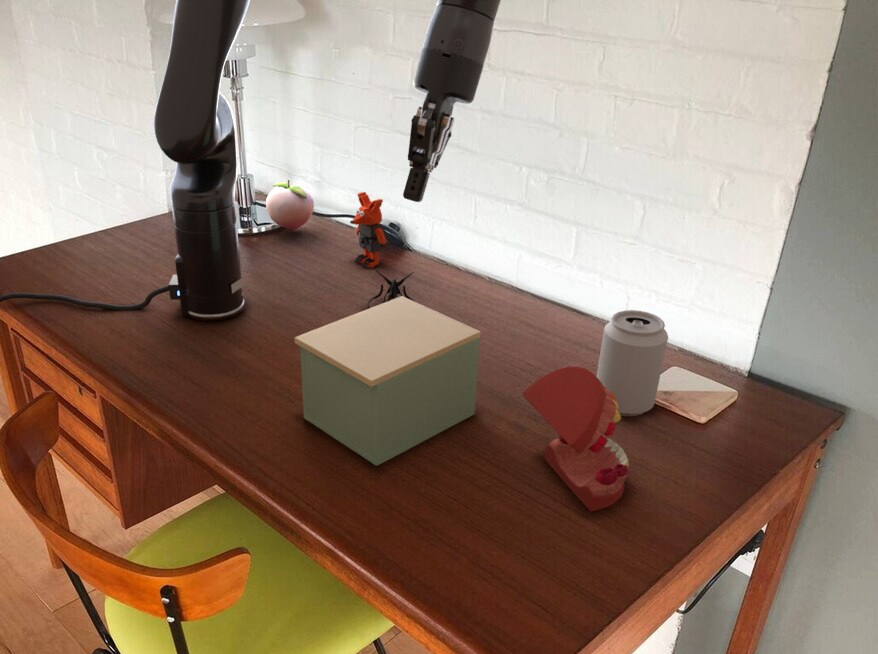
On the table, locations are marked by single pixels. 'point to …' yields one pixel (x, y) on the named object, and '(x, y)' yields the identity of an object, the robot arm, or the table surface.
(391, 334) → the lid
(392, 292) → the creature
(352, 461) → the table surface
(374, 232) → the toy animal
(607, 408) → the anatomical model
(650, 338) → the can
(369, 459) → the green open box
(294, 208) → the decorative fruit
